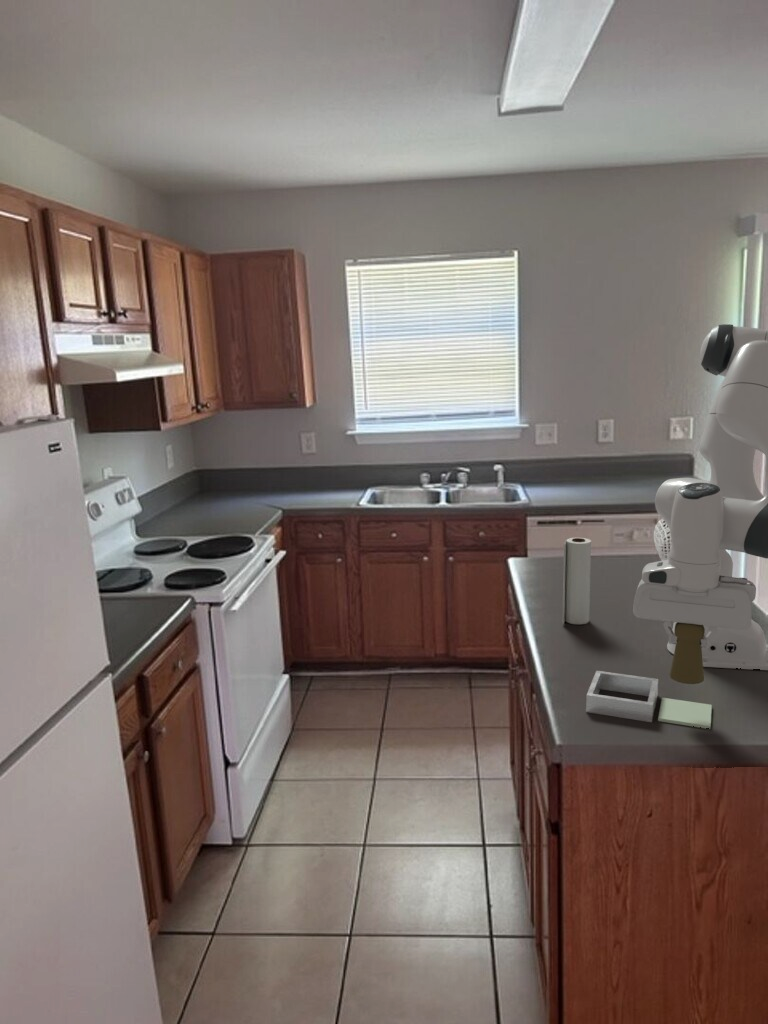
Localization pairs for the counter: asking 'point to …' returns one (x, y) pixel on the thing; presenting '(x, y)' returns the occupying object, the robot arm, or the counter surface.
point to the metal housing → (622, 705)
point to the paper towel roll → (576, 580)
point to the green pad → (685, 713)
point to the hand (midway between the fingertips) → (688, 645)
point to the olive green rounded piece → (688, 654)
